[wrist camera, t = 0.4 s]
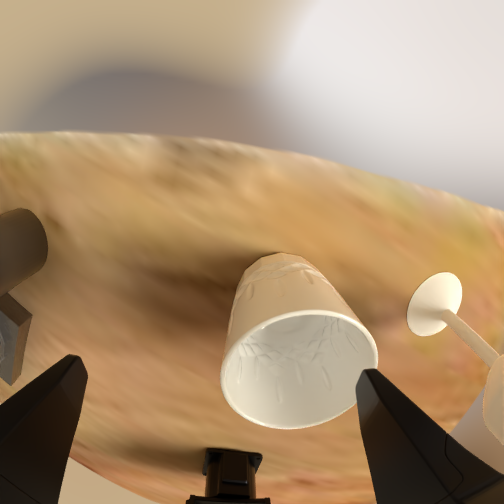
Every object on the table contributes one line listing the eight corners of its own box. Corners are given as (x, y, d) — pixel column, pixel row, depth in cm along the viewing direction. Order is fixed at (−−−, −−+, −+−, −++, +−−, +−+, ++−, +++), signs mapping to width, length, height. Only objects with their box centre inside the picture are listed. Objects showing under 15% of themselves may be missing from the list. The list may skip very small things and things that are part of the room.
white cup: (221, 328, 24) (210, 422, 14) (239, 234, 22) (235, 296, 12) (314, 342, 25) (344, 430, 15) (342, 254, 22) (402, 320, 13)
